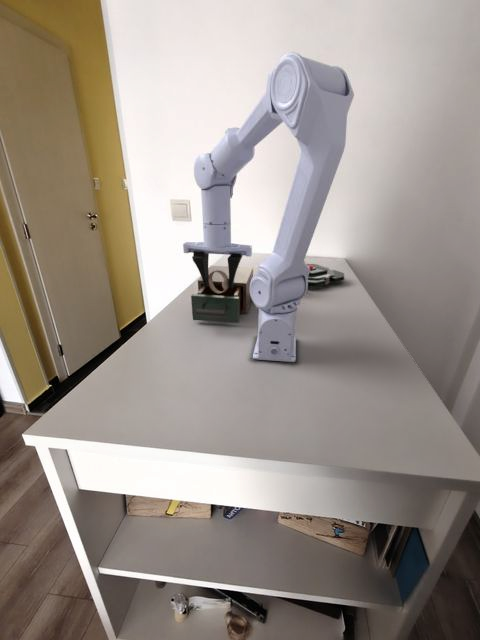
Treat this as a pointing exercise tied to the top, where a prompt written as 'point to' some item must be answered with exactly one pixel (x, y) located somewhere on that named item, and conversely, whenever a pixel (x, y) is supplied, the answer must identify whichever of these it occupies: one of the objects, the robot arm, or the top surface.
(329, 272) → the four-lobed dark green device
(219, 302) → the drawer
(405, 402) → the top surface
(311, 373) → the top surface
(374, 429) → the top surface
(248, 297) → the cabinet
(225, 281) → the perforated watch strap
